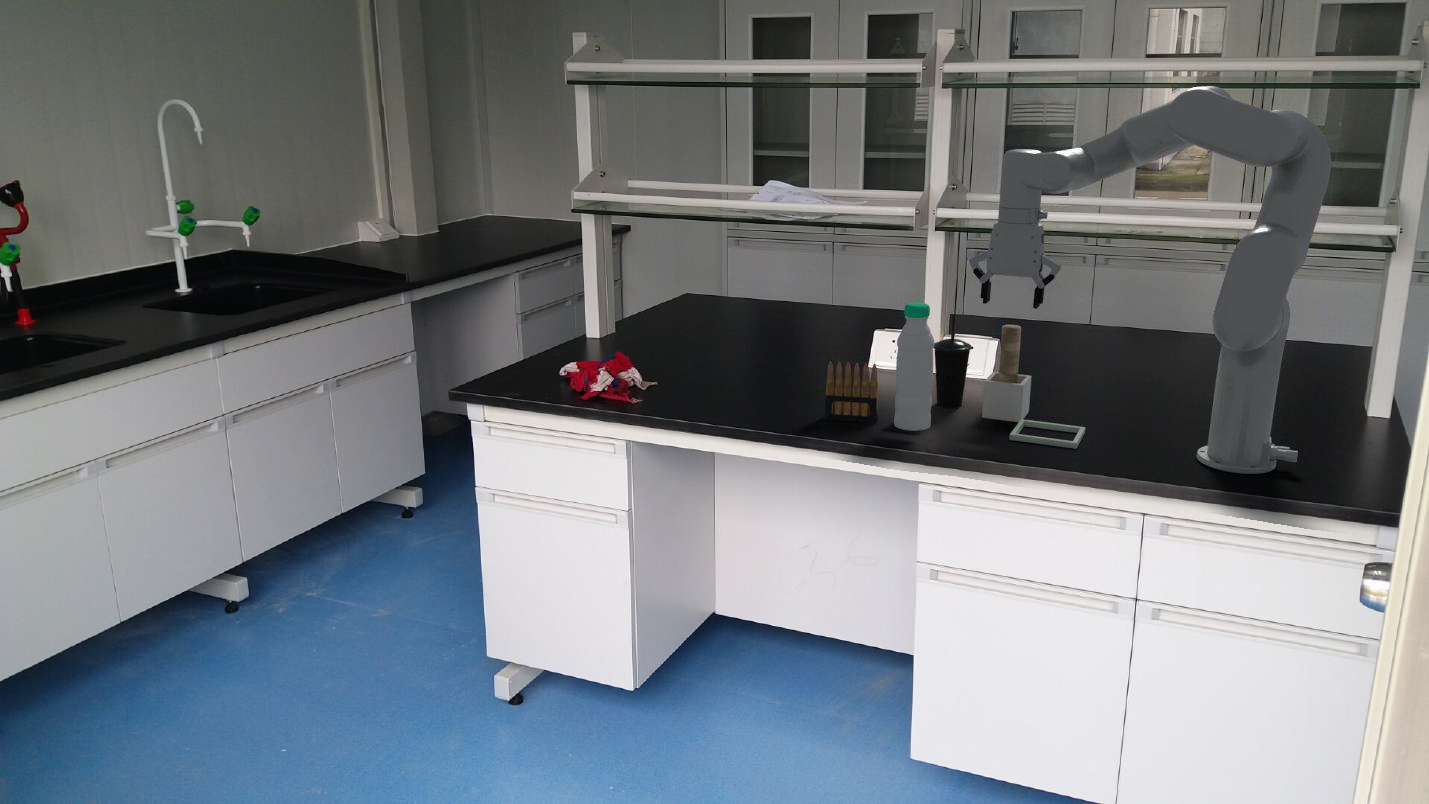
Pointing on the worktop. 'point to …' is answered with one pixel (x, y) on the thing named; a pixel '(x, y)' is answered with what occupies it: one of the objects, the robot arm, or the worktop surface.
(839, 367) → the ammunition clip
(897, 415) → the water bottle
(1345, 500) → the worktop surface
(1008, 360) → the dowel
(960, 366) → the drinking cup
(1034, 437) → the tray
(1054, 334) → the worktop surface
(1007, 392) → the holder
